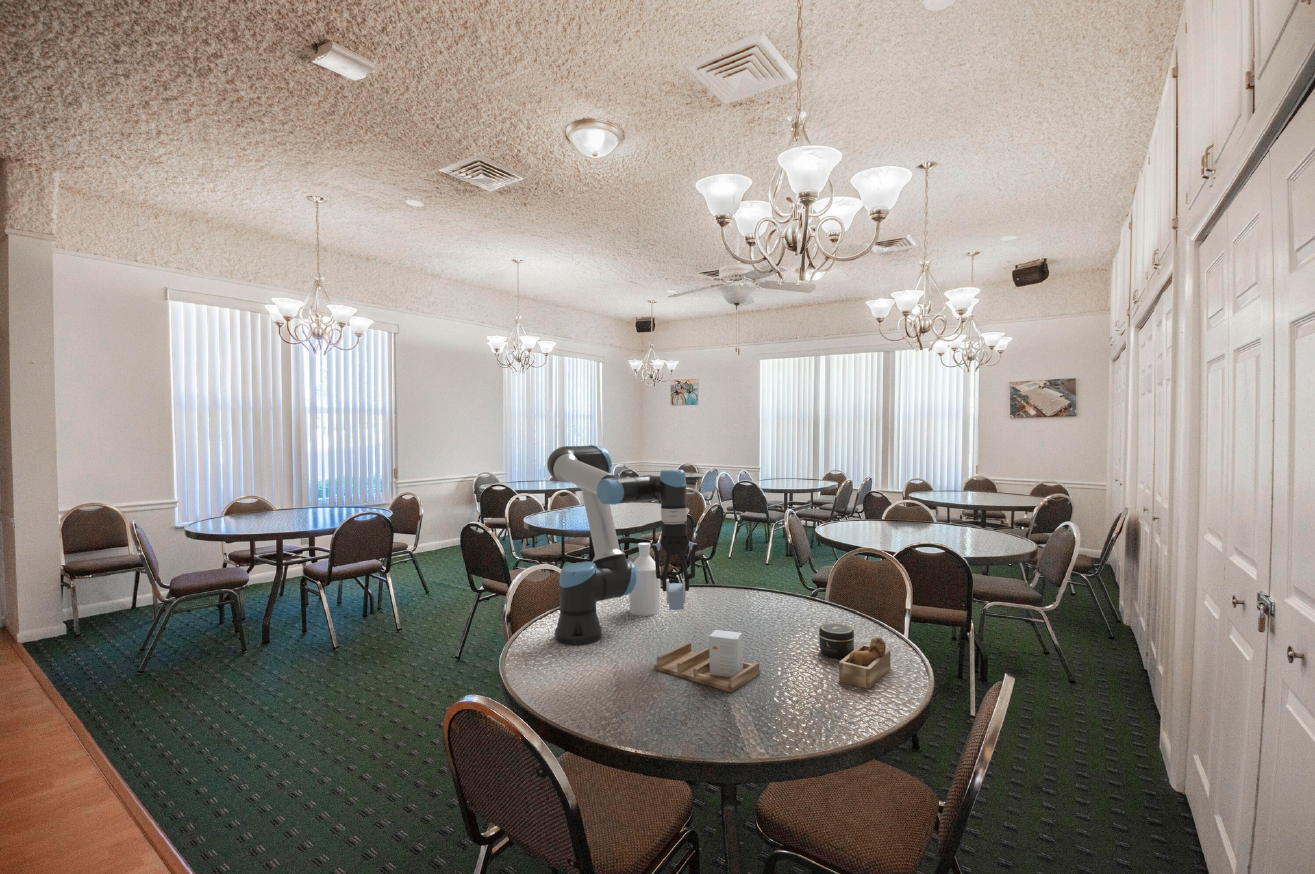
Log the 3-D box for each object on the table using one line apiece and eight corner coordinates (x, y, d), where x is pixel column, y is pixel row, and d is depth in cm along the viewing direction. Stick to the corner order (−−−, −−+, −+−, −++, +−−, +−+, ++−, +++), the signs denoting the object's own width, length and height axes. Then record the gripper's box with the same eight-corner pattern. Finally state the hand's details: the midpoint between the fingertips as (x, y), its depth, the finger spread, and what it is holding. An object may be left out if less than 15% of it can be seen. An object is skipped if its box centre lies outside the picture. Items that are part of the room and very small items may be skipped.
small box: (743, 671, 160) (743, 632, 160) (738, 679, 155) (738, 639, 155) (714, 667, 163) (714, 629, 163) (709, 674, 158) (708, 635, 158)
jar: (813, 654, 174) (812, 628, 174) (828, 645, 182) (828, 620, 182) (845, 662, 168) (844, 636, 168) (860, 653, 175) (859, 627, 175)
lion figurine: (874, 665, 165) (874, 633, 165) (891, 671, 161) (891, 638, 161) (838, 677, 157) (838, 643, 157) (855, 684, 153) (854, 649, 153)
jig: (654, 668, 165) (654, 656, 165) (685, 653, 176) (685, 641, 176) (731, 692, 149) (731, 678, 149) (760, 673, 161) (760, 660, 161)
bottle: (622, 610, 220) (621, 543, 220) (646, 604, 228) (645, 539, 228) (643, 617, 211) (642, 548, 211) (667, 610, 219) (666, 543, 219)
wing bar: (669, 609, 167) (669, 592, 167) (669, 600, 178) (668, 583, 178) (683, 609, 167) (683, 591, 167) (682, 599, 178) (682, 583, 178)
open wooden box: (839, 681, 155) (839, 662, 155) (861, 661, 169) (861, 643, 169) (869, 688, 150) (869, 669, 150) (890, 667, 164) (890, 649, 164)
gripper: (644, 524, 170) (646, 606, 169) (703, 523, 169) (706, 605, 169) (645, 521, 177) (647, 599, 177) (702, 520, 177) (704, 598, 176)
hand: (676, 602), depth 173 cm, fingers closed on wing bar, 4 cm apart
